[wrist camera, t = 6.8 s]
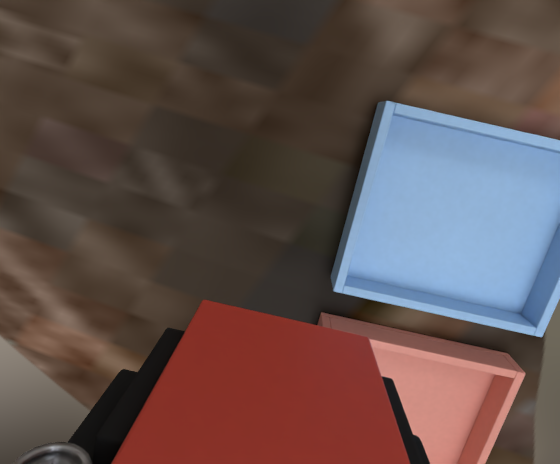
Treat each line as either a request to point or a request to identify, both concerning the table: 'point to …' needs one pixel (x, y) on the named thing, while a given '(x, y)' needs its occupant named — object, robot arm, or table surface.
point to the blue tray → (455, 220)
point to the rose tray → (443, 388)
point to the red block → (265, 397)
